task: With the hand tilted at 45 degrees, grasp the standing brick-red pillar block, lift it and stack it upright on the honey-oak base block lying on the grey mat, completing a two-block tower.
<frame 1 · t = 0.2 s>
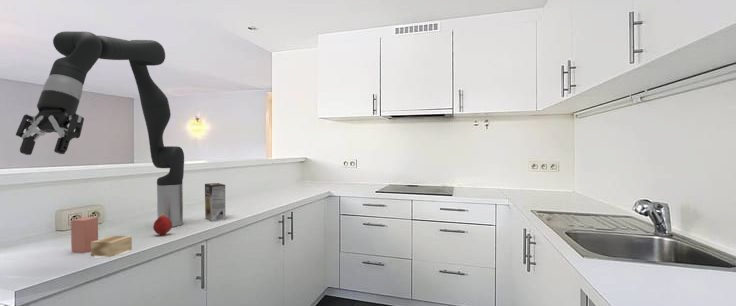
hand: (42, 153, 82), 31 cm above the countertop, tool tilted 20°, fingers open, 8 cm apart
oak base block: (112, 252, 101), resting on blueprint mat
red pillar block: (85, 250, 103), resting on blueprint mat
onion: (162, 236, 122), on the countertop
coffee box: (215, 219, 150), on the countertop
blueprint mat: (98, 252, 102), on the countertop
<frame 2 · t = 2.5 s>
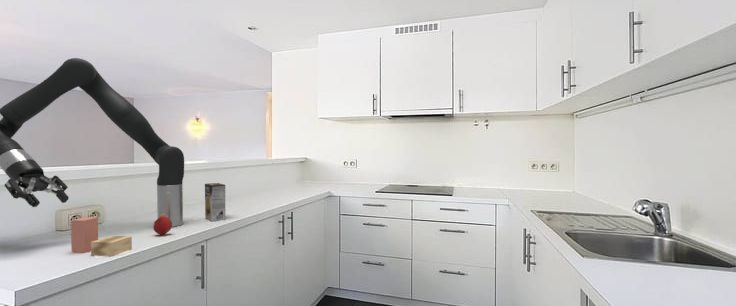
hand: (52, 203, 104), 15 cm above the countertop, tool tilted 45°, fingers open, 8 cm apart
nothing on the countertop moved.
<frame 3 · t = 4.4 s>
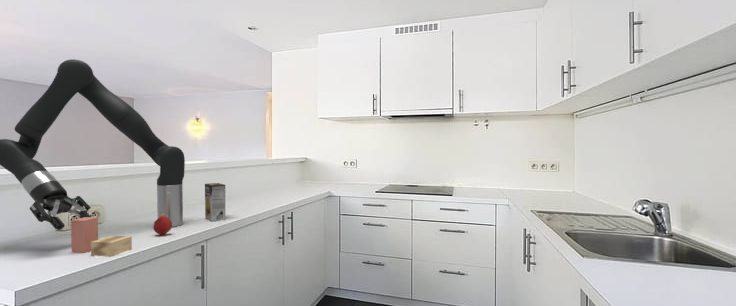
hand: (76, 224, 103), 8 cm above the countertop, tool tilted 45°, fingers open, 8 cm apart
nothing on the countertop moved.
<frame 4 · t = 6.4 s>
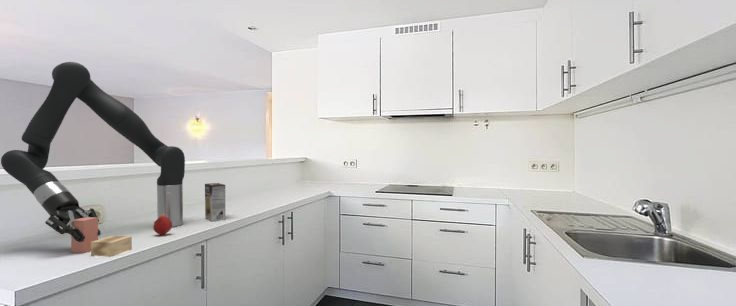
hand: (90, 237, 103), 4 cm above the countertop, tool tilted 45°, fingers closed on red pillar block, 4 cm apart
red pillar block: (85, 250, 103), resting on blueprint mat, touching gripper
everything else where it was.
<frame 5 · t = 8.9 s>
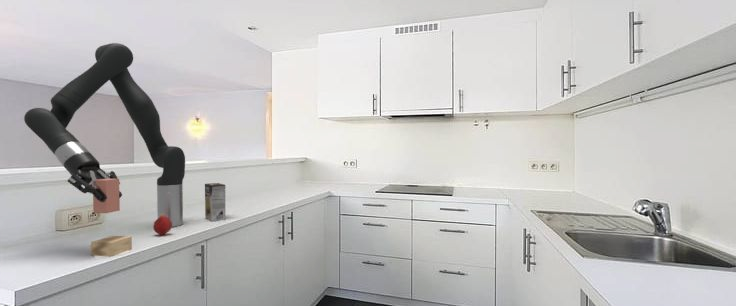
hand: (112, 198, 101), 17 cm above the countertop, tool tilted 45°, fingers closed on red pillar block, 4 cm apart
red pillar block: (106, 211, 101), point 13 cm above the countertop, touching gripper
everything else where it was.
when the fingers open (9 cm above the countertop, at t = 11.4 s): red pillar block stays where it is, resting on oak base block.
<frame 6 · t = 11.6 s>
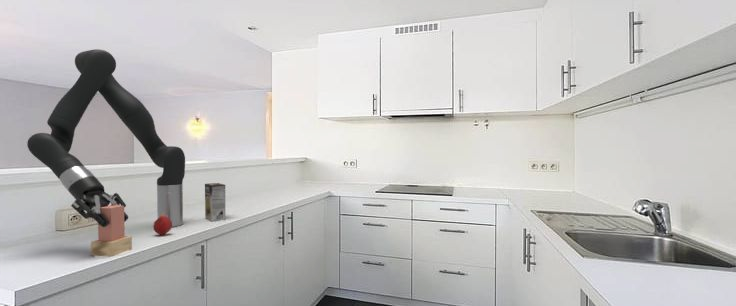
hand: (116, 222, 101), 10 cm above the countertop, tool tilted 45°, fingers open, 6 cm apart
oak base block: (112, 252, 101), resting on blueprint mat, touching red pillar block
red pillar block: (111, 239, 101), point 4 cm above the countertop, touching oak base block
everything else where it was.
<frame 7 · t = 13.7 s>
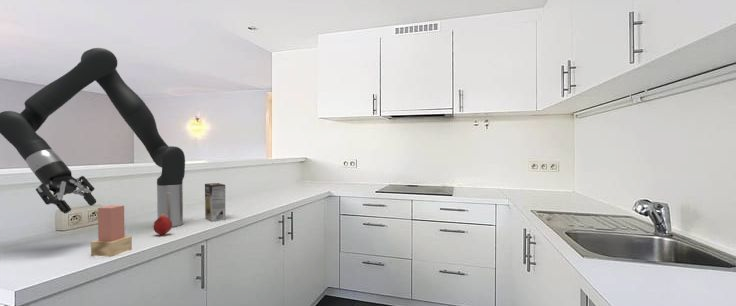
hand: (81, 207, 104), 14 cm above the countertop, tool tilted 35°, fingers open, 8 cm apart
nothing on the countertop moved.
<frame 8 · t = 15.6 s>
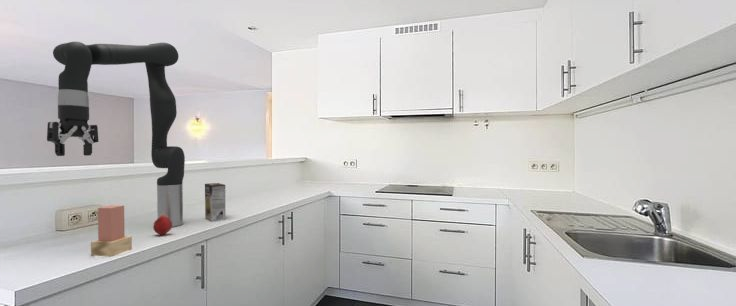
hand: (74, 155, 106), 30 cm above the countertop, tool pointing down, fingers open, 8 cm apart
nothing on the countertop moved.
at the end: red pillar block 0.0 cm off-centre on the oak base block, point 4.0 cm above the oak base block's base; red pillar block tilted 0°; the gripper is holding nothing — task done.
